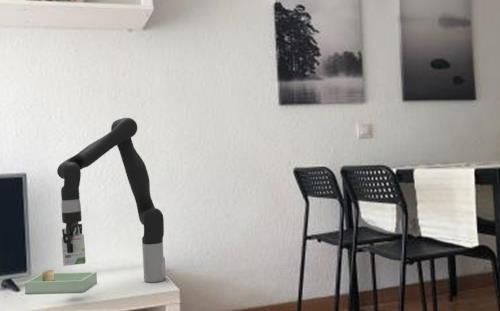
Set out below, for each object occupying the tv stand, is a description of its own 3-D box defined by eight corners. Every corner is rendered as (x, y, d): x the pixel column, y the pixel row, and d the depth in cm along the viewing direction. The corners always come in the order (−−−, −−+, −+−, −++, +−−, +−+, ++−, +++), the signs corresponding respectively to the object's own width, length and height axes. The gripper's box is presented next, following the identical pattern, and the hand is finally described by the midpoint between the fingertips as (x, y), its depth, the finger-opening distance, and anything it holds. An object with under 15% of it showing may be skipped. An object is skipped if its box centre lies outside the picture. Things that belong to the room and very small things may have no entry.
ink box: (85, 261, 213) (84, 233, 212) (85, 263, 208) (83, 235, 208) (64, 263, 210) (62, 235, 210) (63, 266, 206) (61, 237, 205)
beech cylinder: (57, 285, 228) (56, 270, 227) (50, 288, 223) (49, 273, 222) (47, 285, 229) (46, 270, 228) (40, 288, 224) (39, 273, 224)
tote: (97, 282, 232) (96, 272, 232) (82, 292, 216) (82, 280, 216) (43, 284, 234) (42, 273, 234) (25, 293, 219) (24, 282, 219)
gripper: (72, 212, 201) (75, 254, 202) (87, 208, 216) (89, 247, 216) (54, 213, 202) (57, 255, 202) (70, 208, 216) (72, 248, 217)
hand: (73, 251), depth 209 cm, fingers closed on ink box, 6 cm apart
